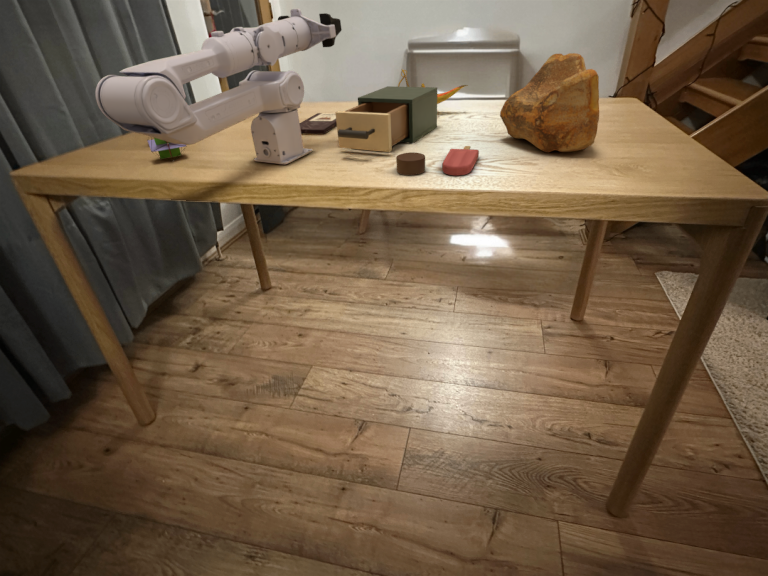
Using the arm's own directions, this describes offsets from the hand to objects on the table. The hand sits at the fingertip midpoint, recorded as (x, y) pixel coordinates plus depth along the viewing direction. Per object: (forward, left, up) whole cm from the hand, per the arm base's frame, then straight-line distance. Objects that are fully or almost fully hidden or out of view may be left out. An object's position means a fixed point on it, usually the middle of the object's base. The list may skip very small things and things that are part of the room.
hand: (323, 25), depth 90 cm
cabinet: (+4, -15, -22) cm, 27 cm away
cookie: (-20, -28, -22) cm, 41 cm away
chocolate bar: (+6, +8, -22) cm, 24 cm away
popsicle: (-13, -35, -22) cm, 43 cm away
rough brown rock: (+5, -46, -22) cm, 51 cm away
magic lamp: (+25, -15, -22) cm, 36 cm away
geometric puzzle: (-28, +23, -22) cm, 42 cm away
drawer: (-9, -15, -21) cm, 27 cm away
